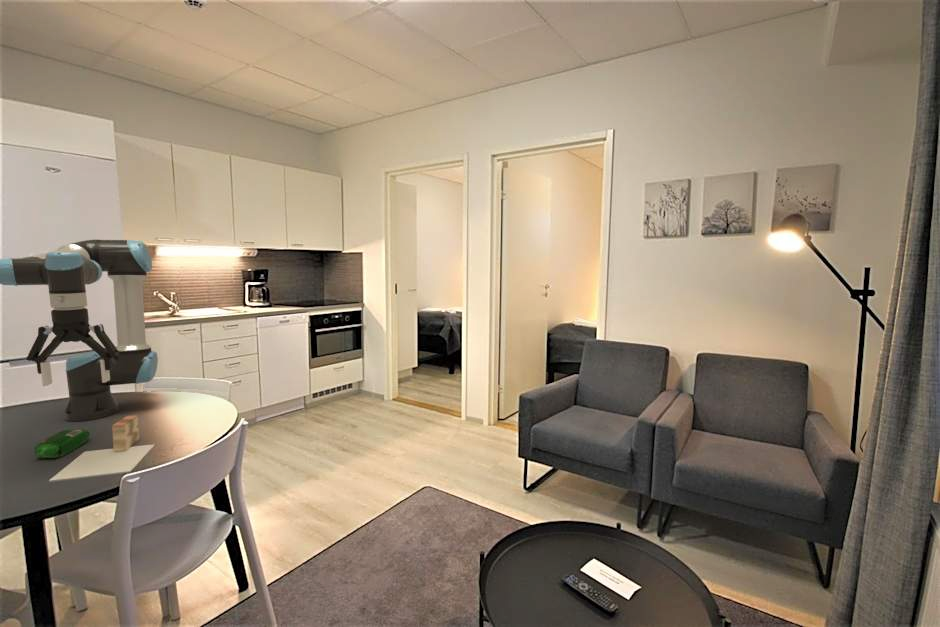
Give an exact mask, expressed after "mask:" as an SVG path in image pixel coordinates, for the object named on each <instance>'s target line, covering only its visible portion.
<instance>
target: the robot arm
mask: <svg viewBox="0 0 940 627" xmlns="http://www.w3.org/2000/svg"><path fill="white" fill-rule="evenodd" d="M152 269H153V262H152V256H151V253H150V250H149V248H148V246H147V245H146V244H145V243H144V242H143V241H140V240H133V239H86V240H80V241H76V242H73V243H67V244H64V245H61V246H59V247H58V248H57V249H55V250H52V251H47V252H43V253H39V254H35V255H31V256H26V257H21V258H20V257H19V258H13V257H12V258H11V257H9V258H0V285H3V286H16V287H17V286H45V285H46V286H47V288H48V295H49V303H50V305H49V306H50V308H52V310H50V314H51V323H52V326H49V325H43V326H40V327H38V329H37V336H36V338H35V340H34V342H33V344H32V346H31V348H30V350H29V352H28V354H27V356H26V360H27V361H29V362H30V361H32V362H34V363H36V370H37V373H38V374H39V375H41V382H42V386H43V387H48V386H49V385H51V384H53V377H52V376H53V375H52V369H51V368H52V367H51V366H52V365H51V360H48V358H49V357H50V356H51V355H52V354H53V353H54V352H55V350H56V349H57V348H59V346H60V345H61V344H62V343H63V342H64V343H69V342H73V343H74V342H75V343H79V342H82V343H84V344H86V345H87V347H89V348H90V349H91V350H92V351H87V352H84V353H79V354H76V355H72V356H70V357H68V358H67V359H66V361H65V374H66V382H67V388H68V401H67V403H66V406H65V409H64V420H65V421H68V422H83V421H85V422H86V421H92V420H96V419H101V418H105V417H109V416H111V415H115V413H117V412H118V411H119V405H118V404H119V403H118V402H117V400H116V399H115V396H114V395H113V393H112V392H111V391H112V390H111V386H118V385H119V386H121V385H130V384H131V385H132V384H133V385H134V384H137V385H138V384H142V383H148V382H149V383H150V382H151V381H152V380H153V379H154V378H155V376H156V372H157V369H158V360H159V358H158V353H157V352H156V351H152V346H150V345H149V344H148V343H147V339H146V337H147V336H146V323H145V307H144V289H143V288H144V287H143V281H144V280H145V279H146V278H147V277H148V276H147V273H149V272H151V271H152ZM103 272H107V277H108V278H109V279H111V280H112V282H113V295H114V296H113V297H114V309H115V311H114V312H115V325H116V326H115V327H116V341H117V345H116V346H115V344H114V343H113V341H112V340H111V338H109V336H108V335H107V333H106V331H105V328H104V324H102V323H100V324H96V325H91V324H90V323H89V322H90V321H89V319H90V317H89V310H88V308H86V307H87V306H88V300H87V291H86V286H87V285H91V284H93V283H96V282H98V281H100V279H101V278H102V275H103ZM91 331H92V333H93V334H95V336H96V337H97V339H98V340H99V342H100V343H101V344H102V345H101V344H100V343H99V342H98V341H97V340H96V339H94V337H93V336H92V335H91V334H90V332H91ZM51 333H53V334H54V338H52V339H51V342H50V343H49V344H48V345H47V346H46V347H45V348H44V346H45V344H46V342H47V340H48V337H49V336H50V334H51ZM43 348H44V349H43Z"/></svg>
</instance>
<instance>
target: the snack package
mask: <svg viewBox="0 0 940 627" xmlns="http://www.w3.org/2000/svg"><path fill="white" fill-rule="evenodd" d="M89 435H90V431H89V430H87V429H83V428H82V429H66V430H62V431H59V432H57V433H56V434H53V435H52V436H49V437H47V438H46V439H44V440H42V441H39V443H37V445H36V446H35V447H34V456H35V457H39V458H41V459H49V458H51V459H53V458H55V459H56V458H60V457H63V456H65V455H67V454H68V453H69V452H71V451H73V450H76V449H77V448H79V447H80V446H81V445H83V444H85V442H87V440H88V438H89Z"/></svg>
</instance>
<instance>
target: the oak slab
mask: <svg viewBox="0 0 940 627" xmlns="http://www.w3.org/2000/svg"><path fill="white" fill-rule="evenodd" d="M111 428H112V432H111V433H112V441H113V442H112V444H113V447H112V448H113V449H114V452H117V451H126V450H127V449H128V448H129V447H133V445H135V443H136V442H137V441H138V440H139V439H140V428H139V415H137V414H136V415H135V414H134V415H126V416H125V417H123V418H121V420H119V421H117V422H115V423H114V424H112V425H111Z"/></svg>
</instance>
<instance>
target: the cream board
mask: <svg viewBox="0 0 940 627" xmlns="http://www.w3.org/2000/svg"><path fill="white" fill-rule="evenodd" d="M155 445H156V444H145V445H135V446H131V447H129V448H128V449H127V450H126V451H117V452H114V448H105V449H96V450H89V451H88V450H87V451H85V450H84V451H83V452H82V453H81V454H80V455H78V456H77V457H76V458H75V459H73V460H72V461H71V462H70V463H69V464H68V465H66V466H64V467H63V469H61V470H60V471H59V472H58V473H57V474H55V475H54V476H52V477H51V478H50V479H49V480H48V482H49V483H52V482H60V481H67V480H68V481H69V480H76V479H84V478H93V477H105V476H110V475H119V474H128V473H132V472H131V471H132V470H133V469H134V468H135V467H137V465H138V464H139V463H140V462H141V461H142V460H143V459H144V458H145V456H147V454H148V453H149V452H150V451H151V450H152V449H153V447H155Z"/></svg>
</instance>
